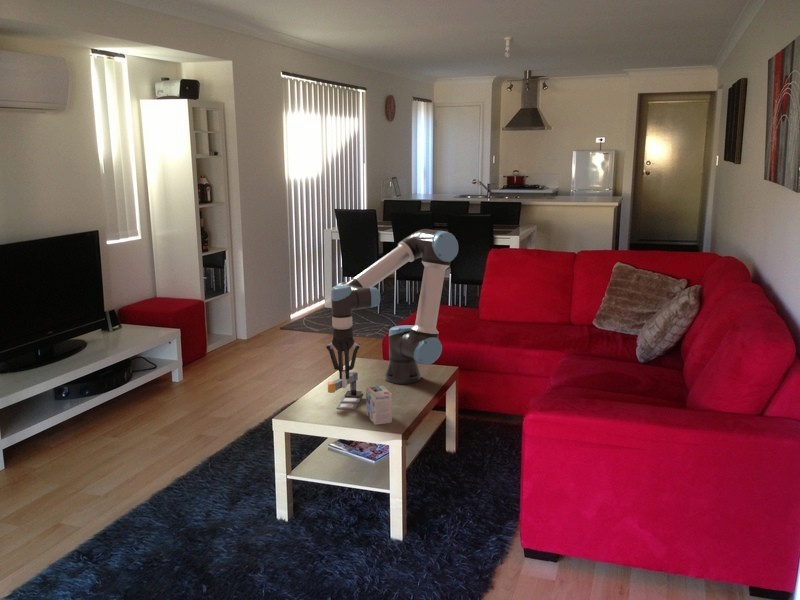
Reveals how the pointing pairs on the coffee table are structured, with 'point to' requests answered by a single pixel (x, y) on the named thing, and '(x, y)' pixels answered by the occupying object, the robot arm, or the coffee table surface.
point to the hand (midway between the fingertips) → (344, 387)
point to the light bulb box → (379, 405)
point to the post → (353, 391)
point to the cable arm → (338, 383)
